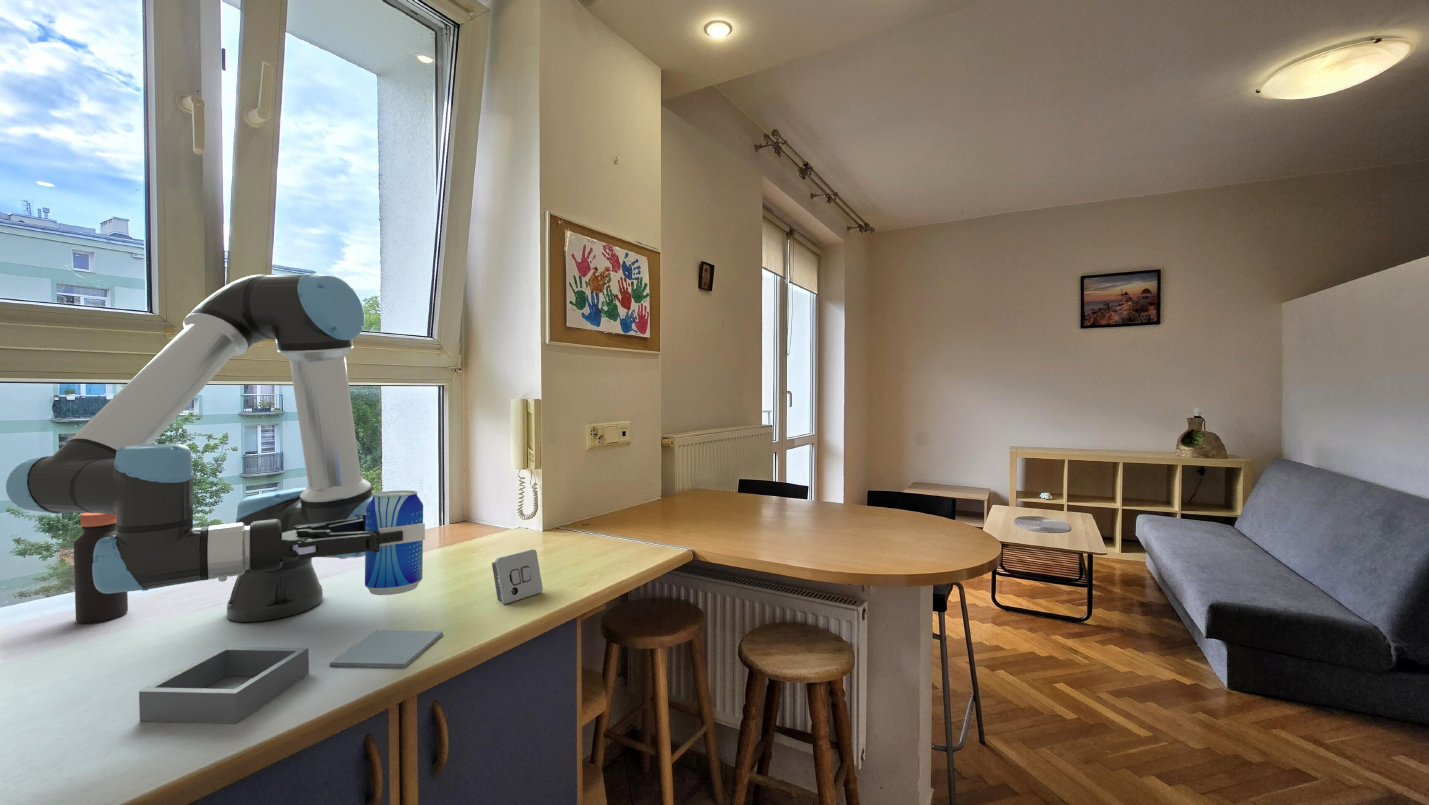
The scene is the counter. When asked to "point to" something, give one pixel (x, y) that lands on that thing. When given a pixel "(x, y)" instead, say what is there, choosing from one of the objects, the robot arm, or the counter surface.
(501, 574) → the electrical switch
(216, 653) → the grey storage bin
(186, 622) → the counter surface
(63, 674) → the counter surface
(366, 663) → the coaster mat
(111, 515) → the bottle
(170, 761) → the counter surface
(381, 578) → the beer can
